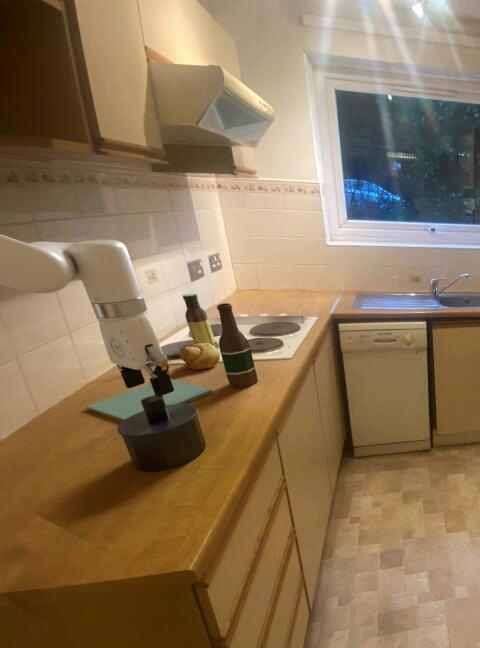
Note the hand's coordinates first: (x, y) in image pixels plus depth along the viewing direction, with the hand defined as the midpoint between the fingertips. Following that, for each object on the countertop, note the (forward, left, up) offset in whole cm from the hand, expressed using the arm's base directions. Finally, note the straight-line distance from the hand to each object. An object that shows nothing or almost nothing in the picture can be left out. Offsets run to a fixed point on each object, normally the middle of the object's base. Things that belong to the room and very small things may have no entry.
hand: (150, 389), depth 88 cm
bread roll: (+37, +45, -16) cm, 60 cm away
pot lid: (0, 0, -7) cm, 7 cm away
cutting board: (+14, +32, -16) cm, 38 cm away
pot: (0, 0, -16) cm, 16 cm away
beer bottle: (+32, +20, -16) cm, 41 cm away
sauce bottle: (+47, +60, -16) cm, 78 cm away
